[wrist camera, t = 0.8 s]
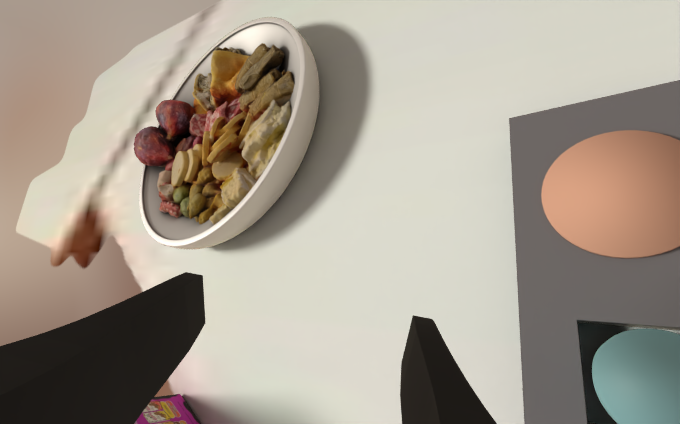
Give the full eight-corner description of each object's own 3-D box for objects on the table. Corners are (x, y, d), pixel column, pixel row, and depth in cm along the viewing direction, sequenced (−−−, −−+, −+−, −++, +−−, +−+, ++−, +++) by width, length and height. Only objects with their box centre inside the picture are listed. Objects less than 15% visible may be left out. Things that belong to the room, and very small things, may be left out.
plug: (722, 375, 15) (778, 385, 11) (670, 447, 15) (703, 487, 11) (619, 318, 18) (628, 306, 13) (575, 380, 18) (569, 390, 13)
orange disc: (752, 158, 15) (755, 155, 15) (662, 286, 16) (663, 285, 16) (584, 118, 20) (584, 115, 20) (517, 218, 20) (516, 217, 20)
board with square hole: (841, 523, 12) (876, 547, 11) (531, 443, 18) (526, 451, 17) (719, 92, 18) (730, 68, 17) (514, 133, 24) (509, 118, 23)
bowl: (341, 6, 42) (299, -52, 36) (324, 241, 31) (261, 214, 25) (196, 92, 58) (151, 62, 52) (153, 265, 48) (90, 252, 42)
